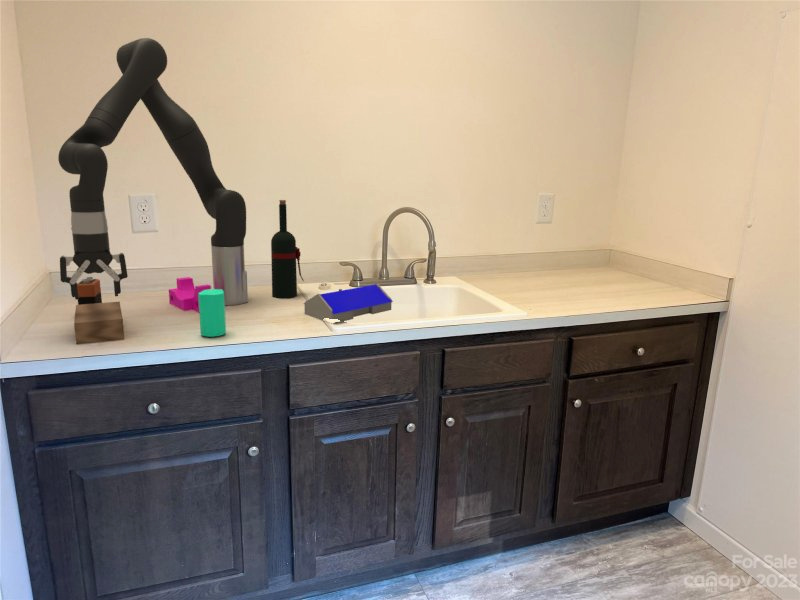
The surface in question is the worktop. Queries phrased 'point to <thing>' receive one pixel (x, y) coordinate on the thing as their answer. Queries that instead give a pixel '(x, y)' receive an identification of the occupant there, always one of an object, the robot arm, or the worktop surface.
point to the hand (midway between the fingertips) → (96, 297)
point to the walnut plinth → (98, 322)
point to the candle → (212, 312)
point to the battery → (89, 291)
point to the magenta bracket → (186, 294)
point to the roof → (348, 303)
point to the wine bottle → (284, 259)
